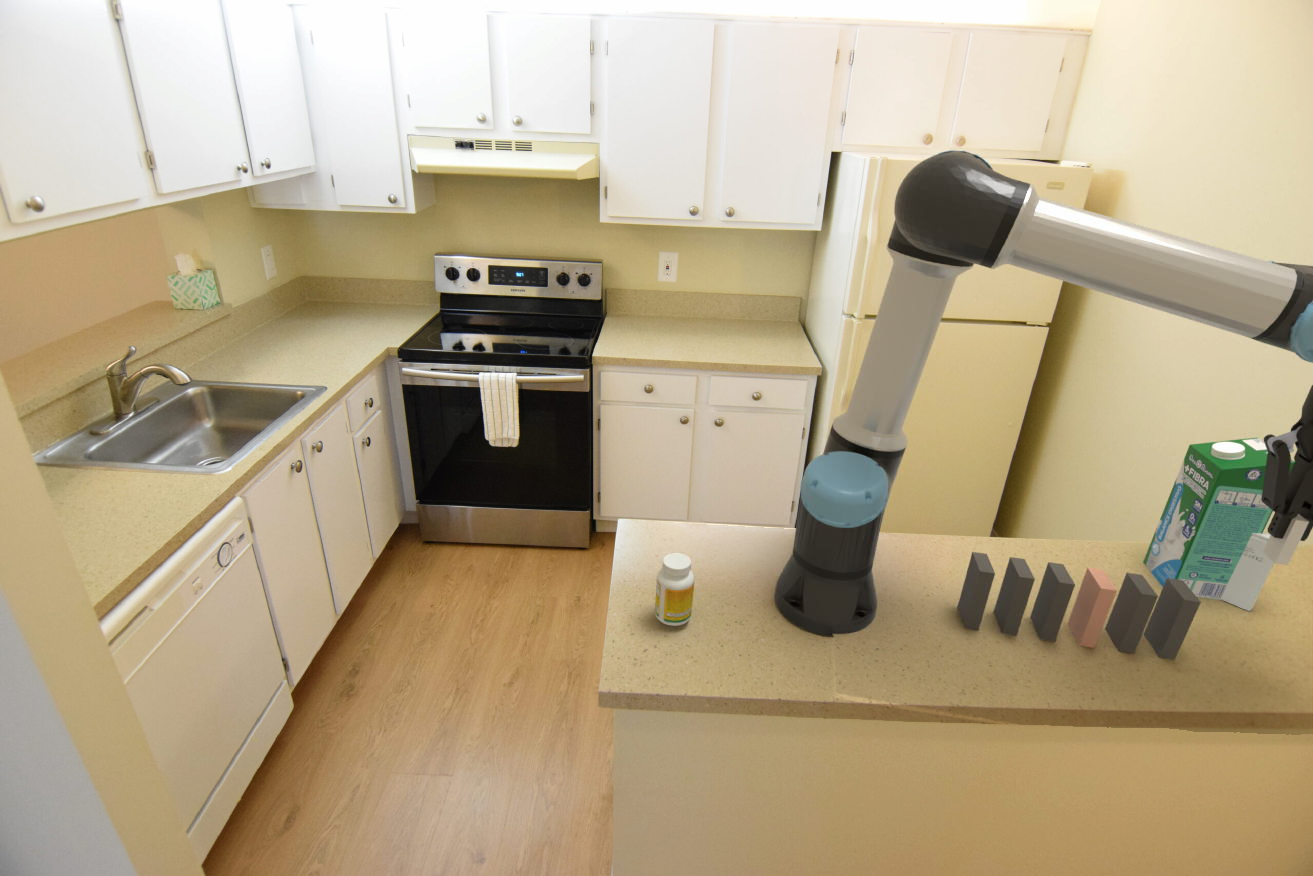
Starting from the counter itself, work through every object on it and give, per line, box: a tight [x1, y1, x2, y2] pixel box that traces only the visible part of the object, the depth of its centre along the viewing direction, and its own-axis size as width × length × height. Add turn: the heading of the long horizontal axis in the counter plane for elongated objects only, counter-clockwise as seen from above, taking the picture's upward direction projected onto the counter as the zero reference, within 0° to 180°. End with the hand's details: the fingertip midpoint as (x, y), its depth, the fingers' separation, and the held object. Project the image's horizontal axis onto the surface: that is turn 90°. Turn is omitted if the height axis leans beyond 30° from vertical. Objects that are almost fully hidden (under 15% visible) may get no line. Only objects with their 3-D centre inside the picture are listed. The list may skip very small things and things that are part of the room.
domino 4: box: [1067, 567, 1117, 649], centre depth 98 cm, size 2×5×10 cm, turn 169°
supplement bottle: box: [654, 552, 695, 627], centre depth 99 cm, size 5×5×10 cm
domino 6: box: [1143, 578, 1202, 661], centre depth 97 cm, size 2×5×10 cm, turn 169°
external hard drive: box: [1220, 532, 1275, 612], centre depth 107 cm, size 2×8×12 cm, turn 39°
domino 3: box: [1029, 561, 1076, 643], centre depth 99 cm, size 2×5×10 cm, turn 169°
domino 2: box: [993, 556, 1036, 637], centre depth 100 cm, size 2×5×10 cm, turn 169°
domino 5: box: [1104, 572, 1159, 655], centre depth 98 cm, size 2×5×10 cm, turn 169°
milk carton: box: [1142, 437, 1295, 601], centre depth 108 cm, size 9×9×25 cm
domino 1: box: [957, 551, 996, 631], centre depth 101 cm, size 2×5×10 cm, turn 169°
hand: (1275, 558), depth 90 cm, fingers closed
